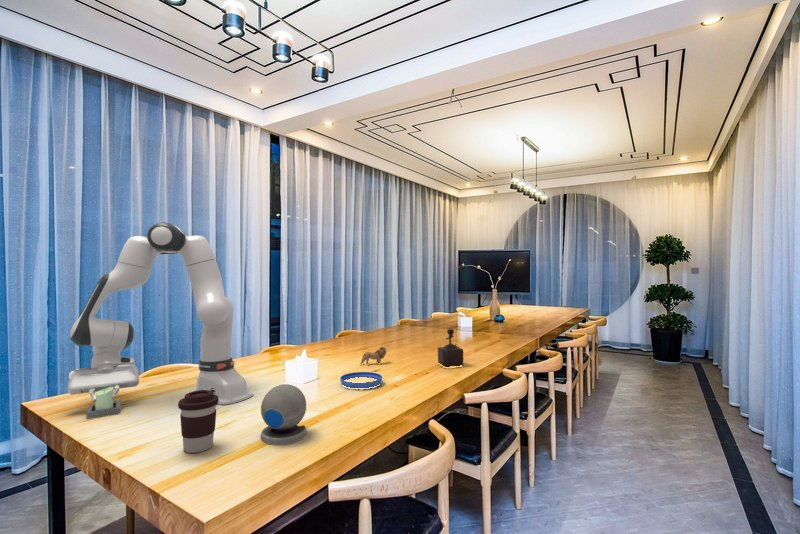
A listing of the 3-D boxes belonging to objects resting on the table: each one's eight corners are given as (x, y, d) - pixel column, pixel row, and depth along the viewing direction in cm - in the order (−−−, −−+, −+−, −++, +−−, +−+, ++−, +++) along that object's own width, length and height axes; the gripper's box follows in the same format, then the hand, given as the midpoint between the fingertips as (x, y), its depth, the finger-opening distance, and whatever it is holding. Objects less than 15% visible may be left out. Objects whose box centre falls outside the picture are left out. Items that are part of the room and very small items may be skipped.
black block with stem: (465, 367, 202) (465, 332, 202) (445, 369, 199) (445, 333, 199) (452, 361, 217) (452, 328, 217) (433, 362, 214) (433, 329, 214)
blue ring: (359, 377, 184) (359, 369, 184) (390, 383, 174) (390, 375, 174) (331, 386, 169) (331, 378, 170) (363, 394, 159) (363, 385, 159)
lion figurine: (384, 362, 214) (384, 345, 214) (387, 364, 209) (387, 347, 209) (358, 364, 208) (358, 347, 208) (361, 367, 203) (361, 349, 203)
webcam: (313, 429, 123) (313, 380, 123) (293, 447, 110) (293, 393, 110) (275, 425, 125) (275, 378, 126) (251, 442, 113) (251, 389, 113)
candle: (98, 415, 134) (99, 391, 134) (92, 413, 136) (92, 389, 136) (115, 411, 138) (116, 387, 138) (109, 408, 140) (109, 385, 141)
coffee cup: (187, 440, 114) (188, 388, 114) (223, 439, 115) (223, 387, 115) (170, 456, 104) (171, 399, 104) (210, 455, 105) (210, 398, 105)
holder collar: (89, 411, 138) (89, 405, 138) (120, 406, 143) (120, 400, 143) (86, 419, 131) (86, 413, 131) (119, 413, 136) (119, 407, 136)
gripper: (68, 364, 137) (63, 400, 129) (139, 357, 149) (139, 390, 140) (70, 374, 141) (65, 410, 133) (139, 367, 152) (138, 399, 144)
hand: (104, 400), depth 137 cm, fingers open, 3 cm apart
